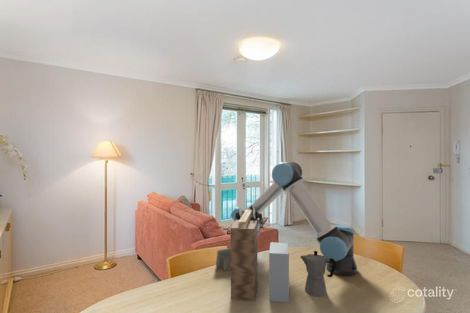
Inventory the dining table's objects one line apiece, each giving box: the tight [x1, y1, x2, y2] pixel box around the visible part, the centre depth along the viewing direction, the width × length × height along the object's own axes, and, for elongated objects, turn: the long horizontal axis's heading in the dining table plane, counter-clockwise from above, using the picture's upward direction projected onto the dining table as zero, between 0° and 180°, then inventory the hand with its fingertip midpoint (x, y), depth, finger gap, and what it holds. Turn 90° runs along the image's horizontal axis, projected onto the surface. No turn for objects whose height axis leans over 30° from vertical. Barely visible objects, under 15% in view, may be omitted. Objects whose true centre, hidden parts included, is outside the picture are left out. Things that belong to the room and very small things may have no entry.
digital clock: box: [215, 247, 231, 272], centre depth 148 cm, size 16×9×11 cm, turn 97°
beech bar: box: [238, 209, 252, 229], centre depth 125 cm, size 3×24×3 cm, turn 170°
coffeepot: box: [300, 250, 337, 298], centre depth 121 cm, size 15×9×18 cm, turn 69°
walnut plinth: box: [230, 220, 259, 302], centre depth 122 cm, size 10×14×30 cm
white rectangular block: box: [268, 241, 290, 303], centre depth 120 cm, size 8×14×20 cm, turn 170°
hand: (246, 211), depth 129 cm, fingers open, 6 cm apart
